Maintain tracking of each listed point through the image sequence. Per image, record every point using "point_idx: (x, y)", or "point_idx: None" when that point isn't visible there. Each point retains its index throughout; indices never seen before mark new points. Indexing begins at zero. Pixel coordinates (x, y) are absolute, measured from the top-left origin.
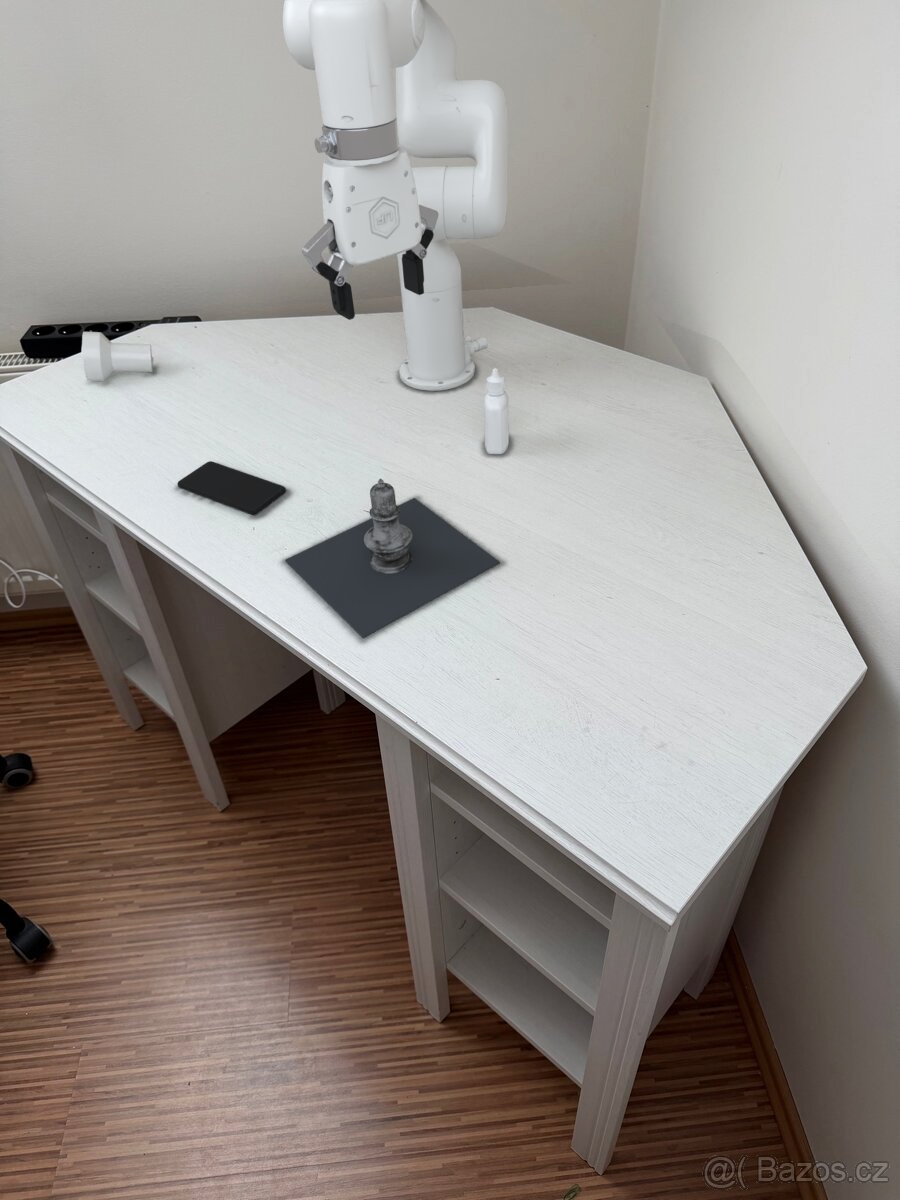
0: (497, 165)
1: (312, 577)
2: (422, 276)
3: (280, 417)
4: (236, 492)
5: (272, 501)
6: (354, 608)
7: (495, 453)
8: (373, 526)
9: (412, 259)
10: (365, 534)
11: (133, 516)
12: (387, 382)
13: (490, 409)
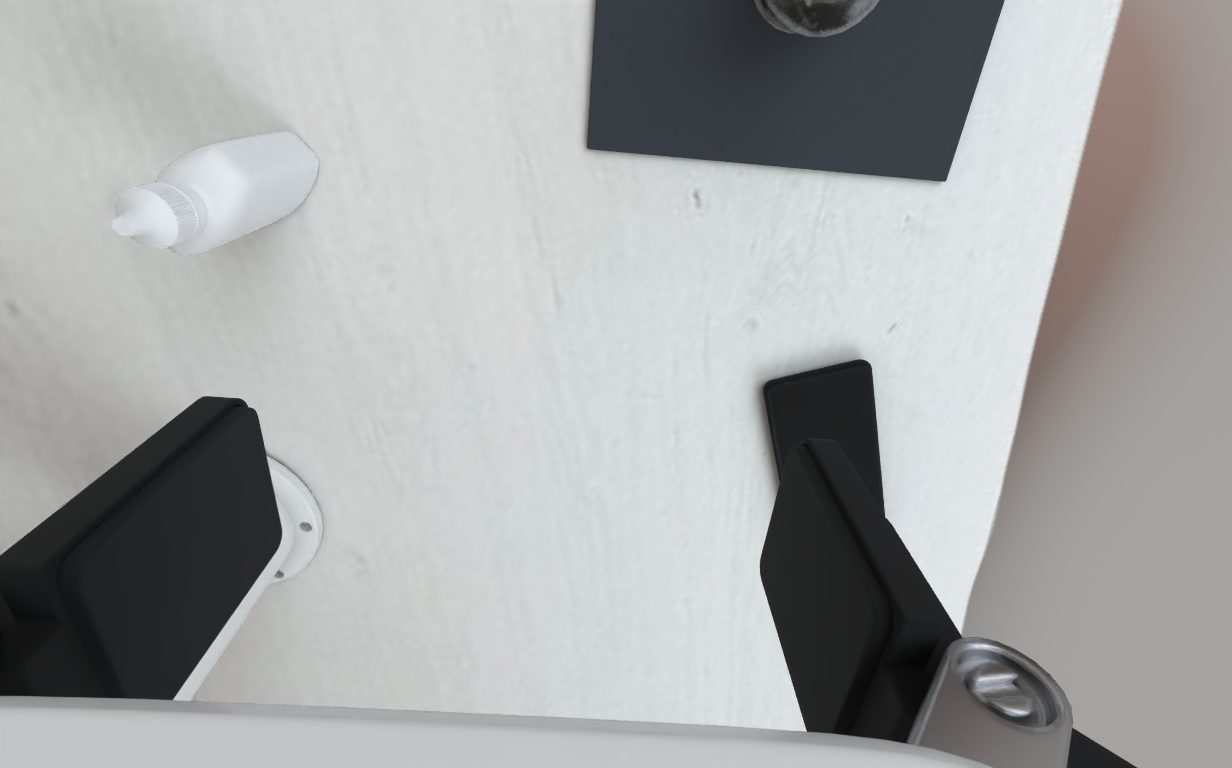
0: None
1: (963, 73)
2: (119, 465)
3: (597, 587)
4: (841, 439)
5: (811, 371)
6: None
7: (304, 144)
8: (733, 129)
9: (75, 640)
10: (856, 22)
11: (986, 511)
12: (350, 552)
13: (241, 172)
